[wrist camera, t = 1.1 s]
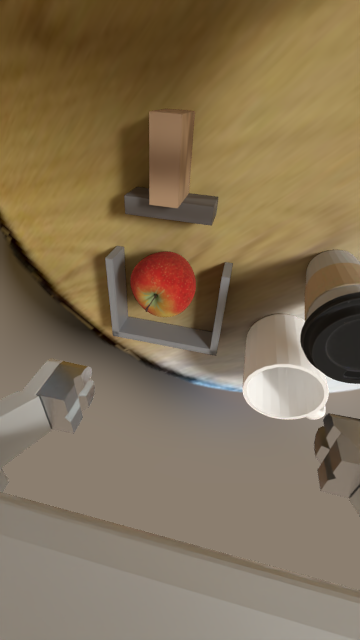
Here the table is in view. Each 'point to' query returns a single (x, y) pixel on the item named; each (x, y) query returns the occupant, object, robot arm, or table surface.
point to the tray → (157, 330)
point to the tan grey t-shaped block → (171, 173)
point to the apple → (163, 284)
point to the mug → (282, 371)
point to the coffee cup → (333, 315)
